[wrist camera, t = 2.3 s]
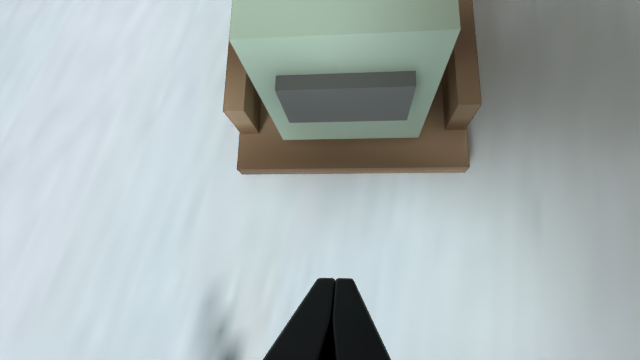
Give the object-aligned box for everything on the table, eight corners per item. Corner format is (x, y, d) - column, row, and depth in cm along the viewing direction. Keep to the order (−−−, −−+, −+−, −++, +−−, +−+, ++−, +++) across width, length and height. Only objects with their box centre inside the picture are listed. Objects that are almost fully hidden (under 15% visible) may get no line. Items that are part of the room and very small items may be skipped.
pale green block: (419, 148, 20) (461, 47, 12) (282, 150, 21) (227, 56, 12) (415, 84, 21) (453, -55, 12) (285, 88, 22) (235, -41, 13)
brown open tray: (464, 172, 21) (495, 139, 16) (242, 174, 22) (209, 143, 17) (450, -15, 24) (473, -90, 19) (254, -4, 25) (229, -72, 20)
